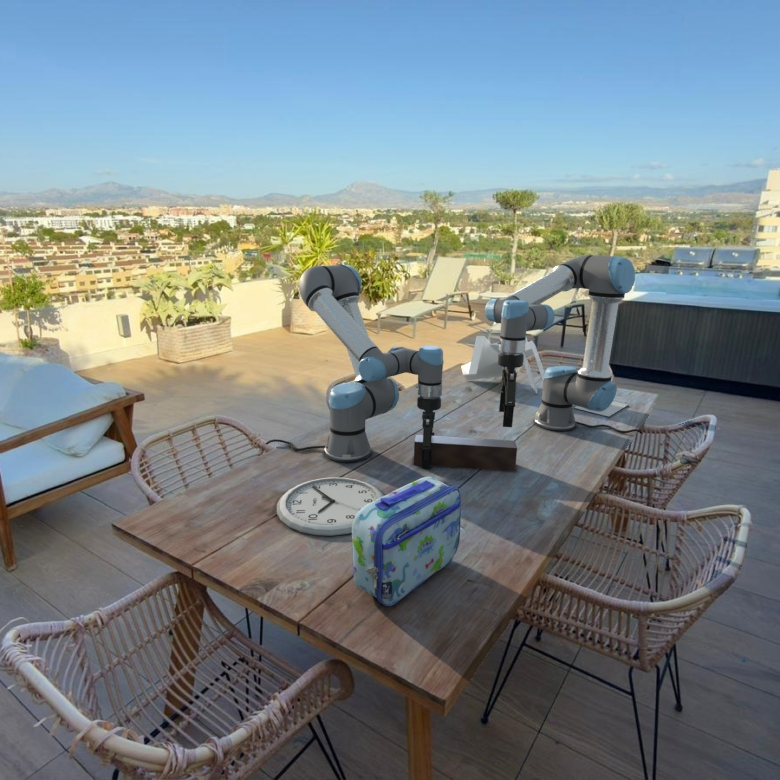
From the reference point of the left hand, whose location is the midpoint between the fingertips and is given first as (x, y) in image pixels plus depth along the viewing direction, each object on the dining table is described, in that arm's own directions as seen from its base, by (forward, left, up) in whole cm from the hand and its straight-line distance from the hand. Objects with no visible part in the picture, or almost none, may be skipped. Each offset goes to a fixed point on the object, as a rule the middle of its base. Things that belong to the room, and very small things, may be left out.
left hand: (426, 460), depth 171 cm
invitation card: (+39, +90, 0) cm, 98 cm away
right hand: (+22, +10, +16) cm, 29 cm away
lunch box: (+23, -55, 0) cm, 60 cm away
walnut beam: (+11, +5, 0) cm, 12 cm away
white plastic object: (-8, +94, 0) cm, 94 cm away
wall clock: (-9, -39, 0) cm, 40 cm away
